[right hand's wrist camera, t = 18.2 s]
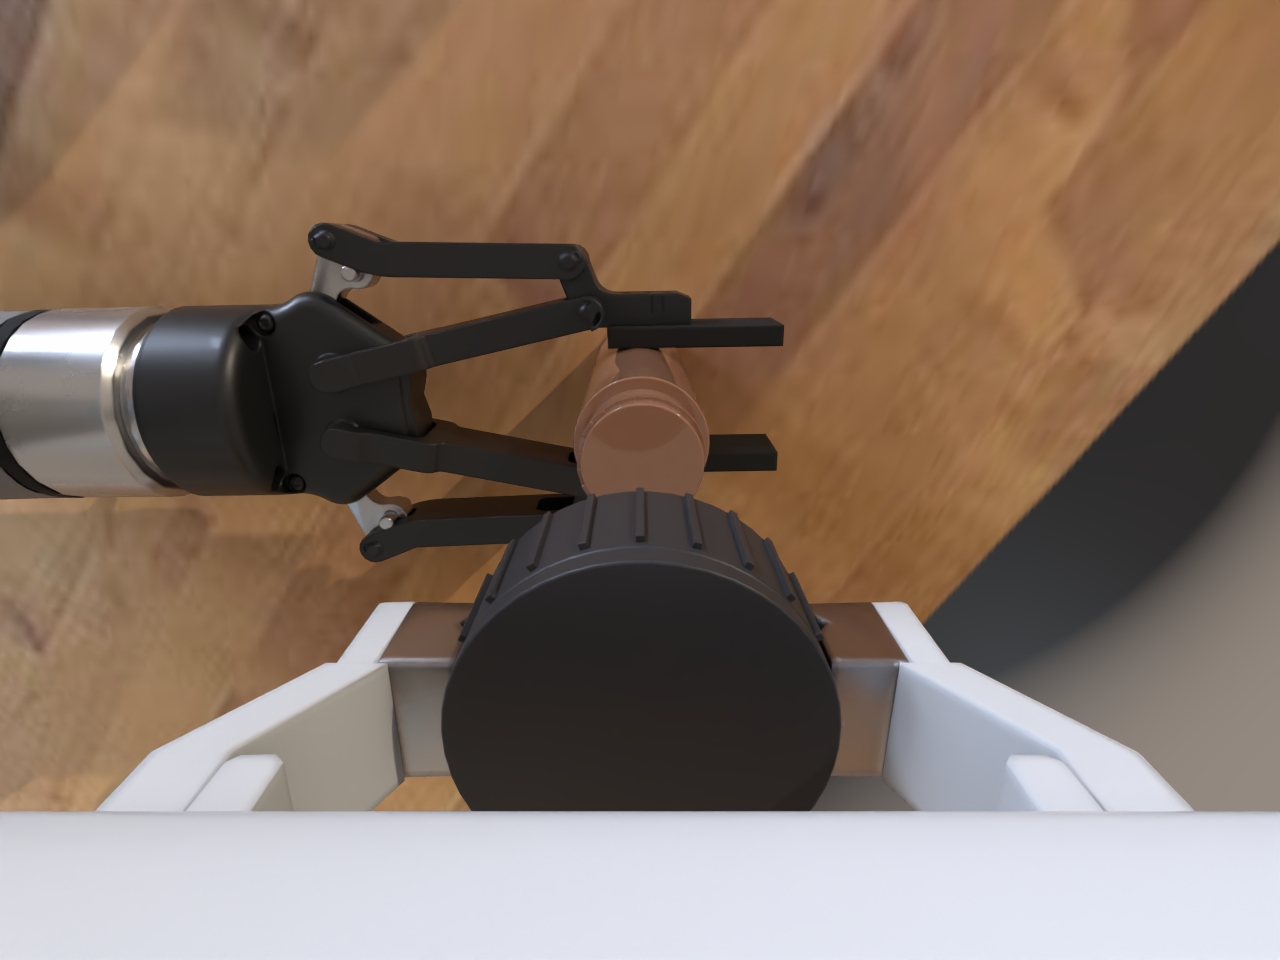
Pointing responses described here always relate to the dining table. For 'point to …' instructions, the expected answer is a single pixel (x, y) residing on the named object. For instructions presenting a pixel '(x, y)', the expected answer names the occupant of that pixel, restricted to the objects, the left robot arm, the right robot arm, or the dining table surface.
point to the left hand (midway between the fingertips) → (772, 393)
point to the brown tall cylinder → (640, 425)
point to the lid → (641, 668)
